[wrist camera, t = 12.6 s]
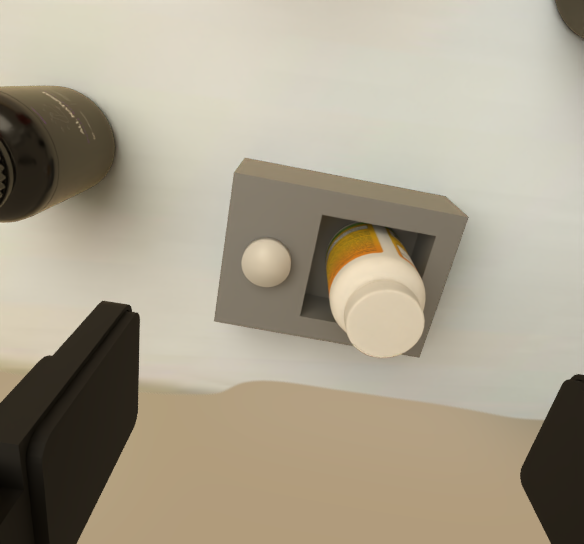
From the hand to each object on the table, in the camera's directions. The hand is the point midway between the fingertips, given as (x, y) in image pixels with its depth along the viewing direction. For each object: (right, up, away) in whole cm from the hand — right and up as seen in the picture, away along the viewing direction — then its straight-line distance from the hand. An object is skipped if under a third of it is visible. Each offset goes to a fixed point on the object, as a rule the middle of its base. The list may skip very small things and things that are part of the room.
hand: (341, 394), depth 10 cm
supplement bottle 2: (+4, +4, +22) cm, 23 cm away
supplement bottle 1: (-16, +12, +21) cm, 29 cm away
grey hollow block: (+2, +5, +23) cm, 24 cm away
